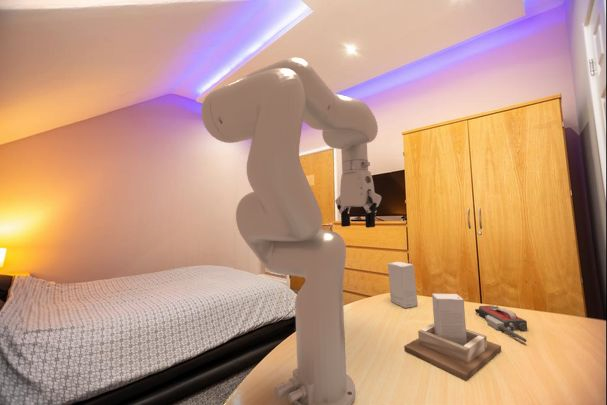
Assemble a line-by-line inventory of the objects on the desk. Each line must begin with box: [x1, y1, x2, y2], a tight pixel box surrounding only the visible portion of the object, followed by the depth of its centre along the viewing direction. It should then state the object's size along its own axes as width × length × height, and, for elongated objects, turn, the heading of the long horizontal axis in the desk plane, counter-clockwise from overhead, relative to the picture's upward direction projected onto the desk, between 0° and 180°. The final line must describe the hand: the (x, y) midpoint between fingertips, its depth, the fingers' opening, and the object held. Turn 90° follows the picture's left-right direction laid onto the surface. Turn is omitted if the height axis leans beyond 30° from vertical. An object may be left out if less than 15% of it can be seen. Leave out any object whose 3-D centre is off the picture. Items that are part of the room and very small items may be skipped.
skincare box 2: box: [431, 293, 467, 346], centre depth 62 cm, size 6×4×12 cm
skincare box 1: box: [387, 261, 419, 309], centre depth 94 cm, size 8×6×15 cm
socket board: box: [403, 322, 502, 382], centre depth 62 cm, size 18×14×4 cm
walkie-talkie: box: [475, 305, 528, 343], centre depth 73 cm, size 9×4×20 cm
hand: (357, 226), depth 74 cm, fingers open, 9 cm apart
